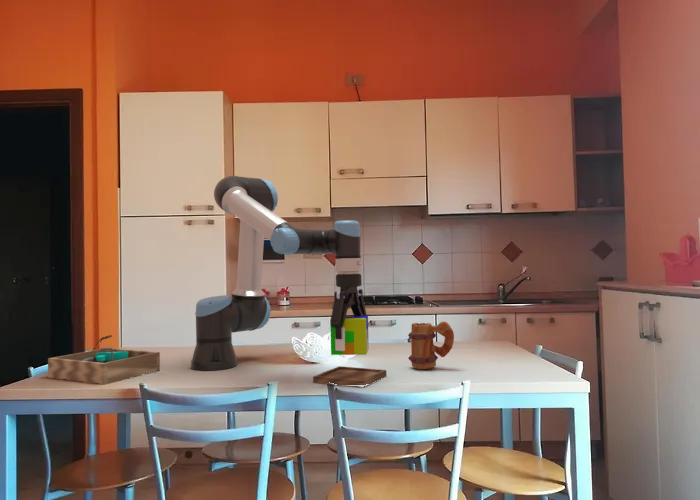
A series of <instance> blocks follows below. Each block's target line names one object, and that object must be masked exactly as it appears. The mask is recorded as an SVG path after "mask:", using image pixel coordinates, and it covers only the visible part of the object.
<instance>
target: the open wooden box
mask: <svg viewBox="0 0 700 500" xmlns="http://www.w3.org/2000/svg"><path fill="white" fill-rule="evenodd" d="M100 349H101V348H98V349H94V350H93V349H92V350H87V351H84V352H83V351H81V352H77V353H72V354H65V355H60V356H55V357H54V356H53V357H48V358H47V375H48V376H47V377H48V379H49V378H50V379H55V378H56V379H57V380H63V379H67V380H66V381H71V380H75V381H74V382H79V381H83V382H82V383H87V382H91V383H90V384H95V383H99V384H98V385H103V384H104V385H107V383H108V384H111V383H110V382H112V383H116V382H120V381H123V379H124V380H127V379H126V378H128V379H131V378H130V377H132V378H135V377H134V376H136V377H139V376H138V375H140V376H143V375H142V374H144V375H147V374H146V373H148V374H150V373H149V372H152V373H155V372H154V371H156V372H159V371H158V370H160V371H161V360H160V359H161V355H160V354H161V353H160V352H159V351H147V350H134V349H126V348H125V349H123V348H113V352H123V351H126V352H129V353H128V358H126V359H121V360H116V361H111V362H106V363H100V362H93V361H92V362H90V361H82V360H84V359H86V358H89V357H93V356H96V355H95V354H96V353H105V352H111V350H102V352H100ZM119 380H120V381H119ZM115 381H116V382H115Z"/></svg>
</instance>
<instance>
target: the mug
mask: <svg viewBox="0 0 700 500" xmlns="http://www.w3.org/2000/svg"><path fill="white" fill-rule="evenodd" d="M436 333H438V334H439V335H441V336H443V338H444V341H443V344H442V345H441V346H437V345H435V344H434V339H435V338H436V337H437V334H436ZM454 333H455V332H454V330H453V328H452V327H451V325H450V324H449V323H448V322H447V321H443V320H442V321H441V322H439V323H438V324H437V325H432V323H430V322H427V323H425V322H420V323H418V322H414V323H411V331H410V332H409V333H408V334H407V336H408V337H409V338H410V339H411V341H410V343H411V350H410V351H411V352H410V353H411V354H410V355H409V357H408V360H409V361H410V362H411V366H412V368H414V369H416V370H429V369H432V368H435V366H436V365H437V363H436V362H437V360H438V358H439V357H441V358H445V357H446V356H447V355H448V354H449V353H450V351H451V350H452V349H453V346H454V341H455V334H454ZM436 354H437V355H438V356H439V357H438V356H437V355H436Z"/></svg>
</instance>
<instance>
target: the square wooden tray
mask: <svg viewBox="0 0 700 500" xmlns="http://www.w3.org/2000/svg"><path fill="white" fill-rule="evenodd" d="M386 377H387V370H386V369H380V368H379V369H378V368H365V367H352V366H336V367H334V368H331V369H329V370H325V371H324V372H321V373H318V374H315V375H314V376H312V384H322V385H327V384H326V383H329V382H330V383H334V384H337V385H336V386H340V385H366V384H370V383H372V384H373V382H374V383H376V382H377V380H378V381H380V380H382V379H383V378H386ZM381 378H382V379H381ZM379 379H380V380H379ZM375 381H376V382H375ZM370 385H371V384H370Z"/></svg>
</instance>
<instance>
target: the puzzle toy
mask: <svg viewBox="0 0 700 500" xmlns="http://www.w3.org/2000/svg"><path fill="white" fill-rule="evenodd" d="M329 322H330V323H331V319H330V321H329ZM330 323H329V324H330ZM329 326H330V355H331V356H348V355H349V356H350V355H351V356H354V355H355V356H356V355H357V356H359V355H362V356H363V355H364V356H365V355H367V353H368V352H369V349H370V348H369V346H370V345H369V343H370V342H369V315H367V316H354V315H346V317H345V321H344V324H343V327H345V351H336V350H335V327H331V325H329Z"/></svg>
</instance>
